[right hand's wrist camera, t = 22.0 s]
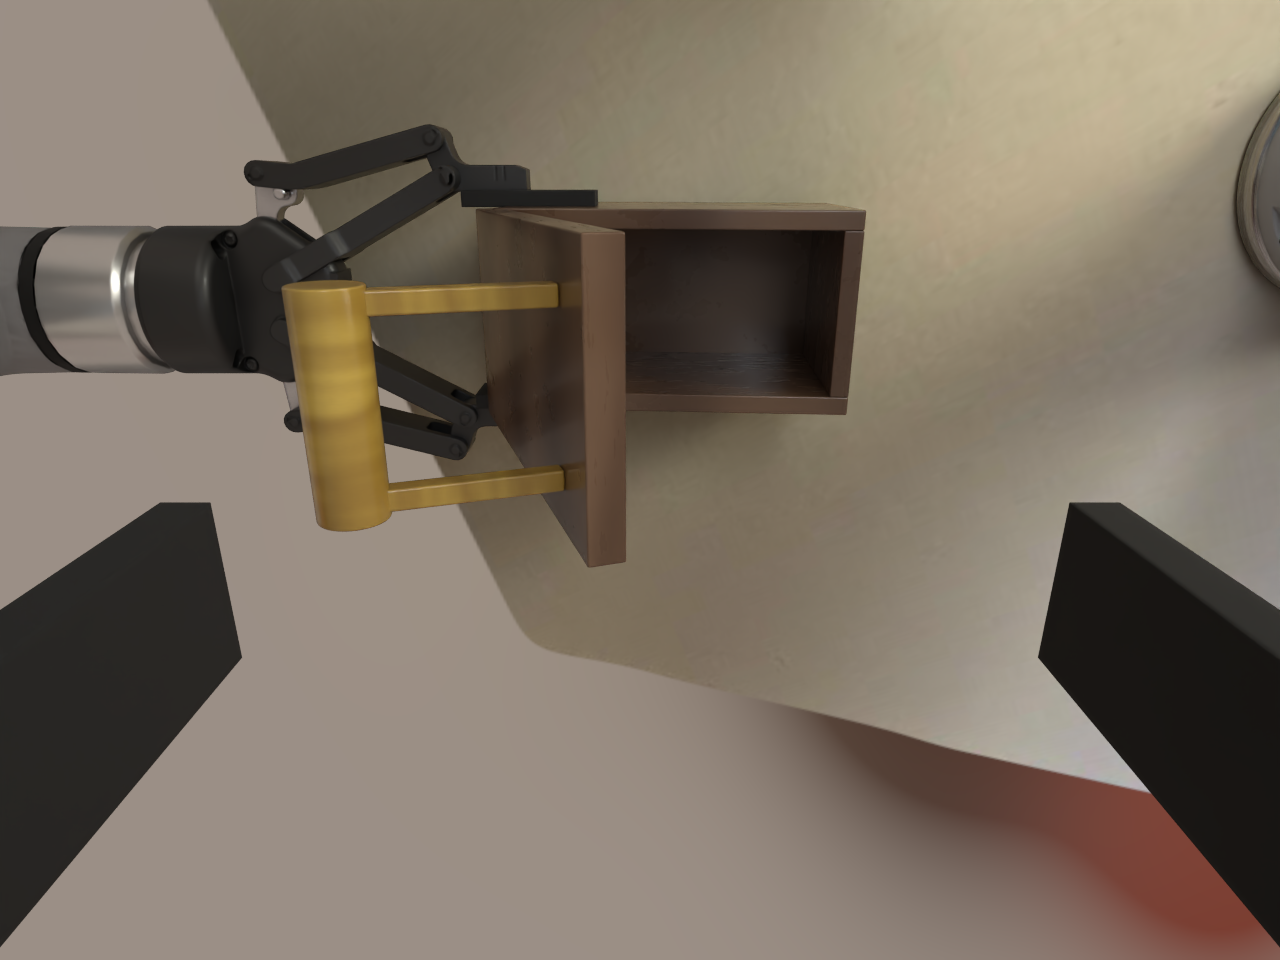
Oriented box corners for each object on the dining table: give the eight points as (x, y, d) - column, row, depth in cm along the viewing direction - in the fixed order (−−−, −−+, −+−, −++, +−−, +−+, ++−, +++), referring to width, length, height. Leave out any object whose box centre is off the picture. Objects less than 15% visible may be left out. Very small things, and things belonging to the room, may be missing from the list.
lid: (625, 231, 21) (263, 237, 18) (626, 562, 24) (321, 609, 21) (502, 208, 36) (298, 210, 33) (513, 410, 39) (329, 426, 37)
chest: (827, 203, 46) (866, 210, 36) (813, 365, 49) (846, 415, 39) (537, 201, 47) (492, 207, 36) (543, 360, 50) (504, 408, 40)
